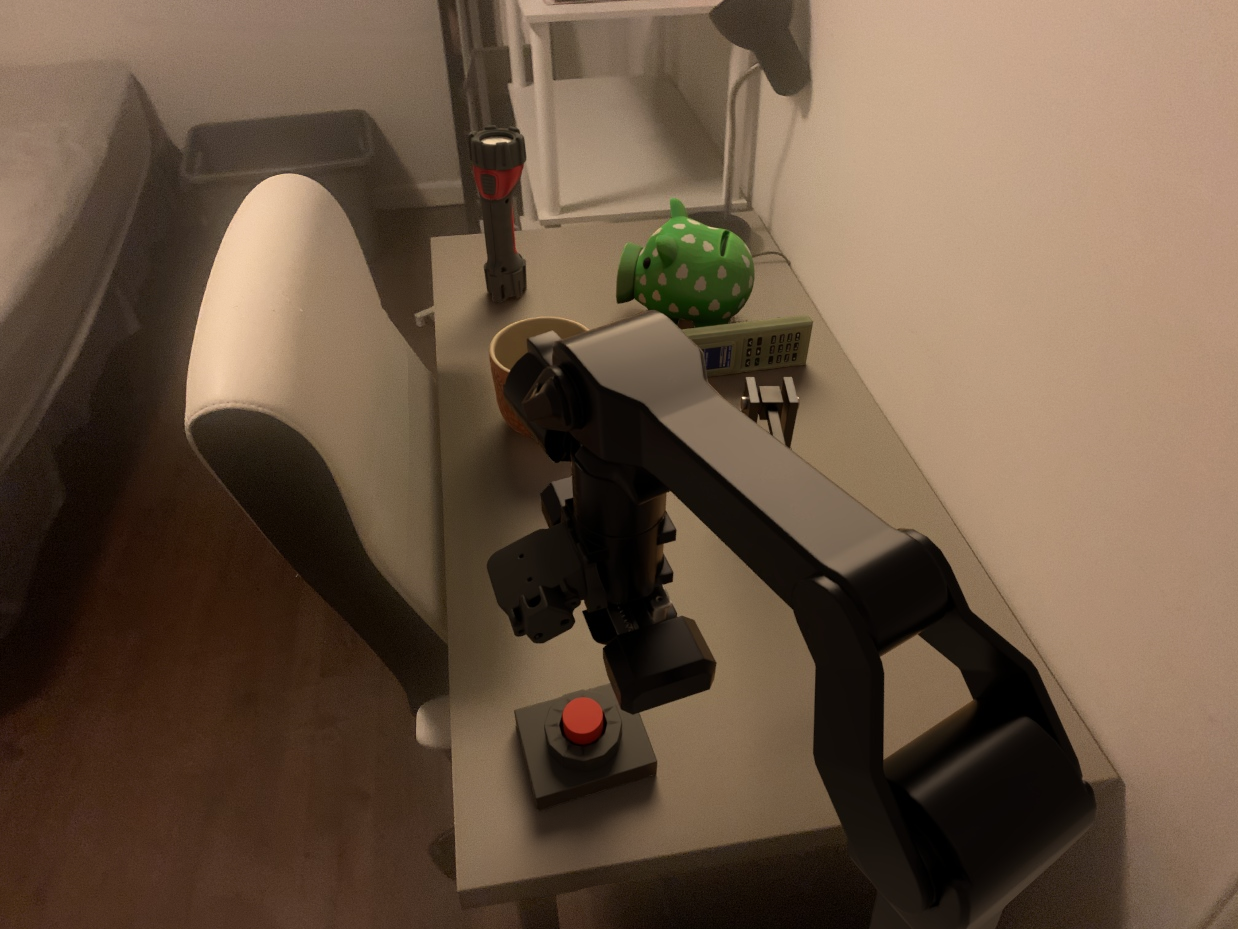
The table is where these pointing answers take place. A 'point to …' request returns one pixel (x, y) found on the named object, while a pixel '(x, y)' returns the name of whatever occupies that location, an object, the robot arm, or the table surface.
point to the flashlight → (499, 206)
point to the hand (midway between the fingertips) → (619, 648)
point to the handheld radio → (753, 344)
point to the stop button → (582, 721)
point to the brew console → (582, 749)
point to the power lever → (771, 409)
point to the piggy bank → (688, 271)
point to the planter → (521, 354)
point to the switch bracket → (789, 409)
